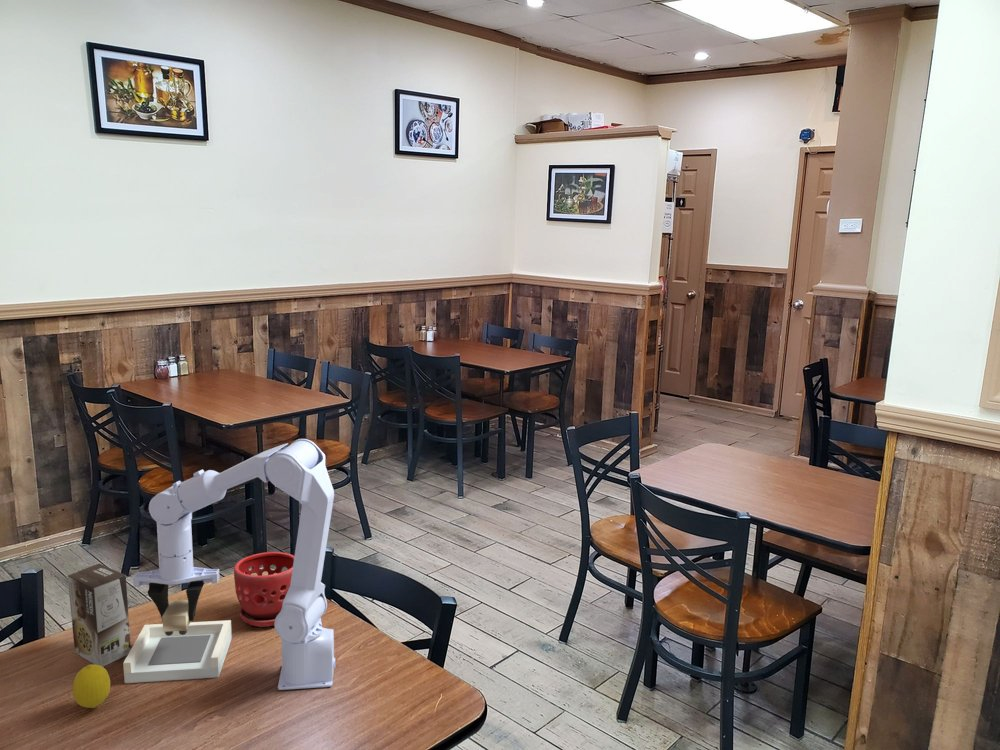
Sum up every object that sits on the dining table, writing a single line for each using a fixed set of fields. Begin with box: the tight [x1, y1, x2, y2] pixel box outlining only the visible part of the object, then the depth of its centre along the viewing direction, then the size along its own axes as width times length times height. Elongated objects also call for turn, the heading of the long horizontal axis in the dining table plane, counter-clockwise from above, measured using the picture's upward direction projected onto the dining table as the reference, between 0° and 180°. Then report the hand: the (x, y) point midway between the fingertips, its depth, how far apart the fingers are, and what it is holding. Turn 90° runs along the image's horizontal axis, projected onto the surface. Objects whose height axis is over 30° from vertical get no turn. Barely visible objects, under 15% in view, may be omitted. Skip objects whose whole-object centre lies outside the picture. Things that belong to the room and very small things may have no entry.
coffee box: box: [67, 563, 132, 667], centre depth 140 cm, size 9×6×16 cm
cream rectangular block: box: [161, 599, 192, 636], centre depth 138 cm, size 4×6×4 cm, turn 10°
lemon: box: [72, 663, 111, 709], centre depth 125 cm, size 6×6×8 cm
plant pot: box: [233, 551, 295, 627], centre depth 156 cm, size 13×13×12 cm
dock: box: [122, 619, 233, 684], centre depth 140 cm, size 16×13×4 cm
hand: (179, 618), depth 138 cm, fingers closed on cream rectangular block, 4 cm apart
